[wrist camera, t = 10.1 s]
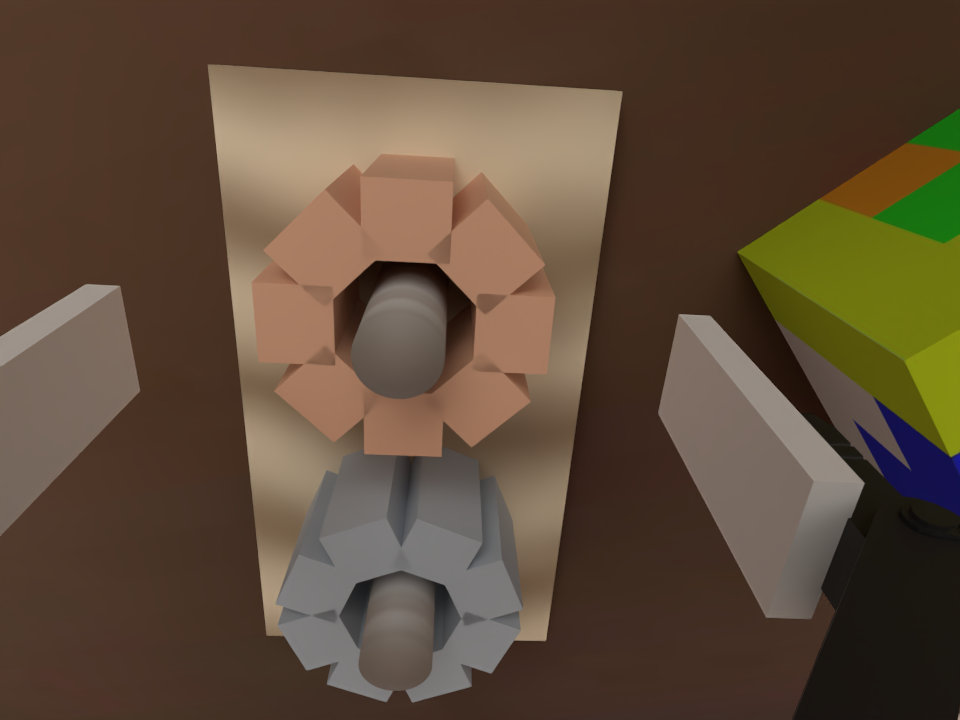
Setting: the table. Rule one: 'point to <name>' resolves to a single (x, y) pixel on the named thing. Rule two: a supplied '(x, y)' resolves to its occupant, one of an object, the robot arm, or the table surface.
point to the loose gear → (338, 309)
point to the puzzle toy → (880, 309)
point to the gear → (404, 566)
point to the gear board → (481, 138)
